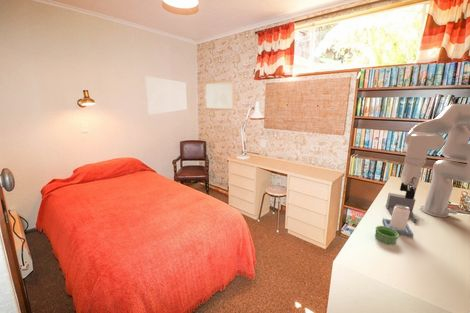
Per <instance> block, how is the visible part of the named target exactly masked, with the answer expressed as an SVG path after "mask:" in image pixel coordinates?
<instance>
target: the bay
mask: <svg viewBox="0 0 470 313" xmlns="http://www.w3.org/2000/svg"><path fill="white" fill-rule="evenodd" d="M405 195H406V194H405ZM405 195H404V194H398V193H397V194H396V193H391V192H388V195H387V200H386V204H385V207H386V210H387V211H388V212H389V213H390V215H391V216H392V214H393V210H394V207H395V206H396V204H402V205H405V206H408V207H409V208H410V209H409V210H410V214H409V218H410V220H411V221H412V223H413V224H417V222H418V218H417V217H416V215H415V214H414V212H413V211H414V210H413V209H414V207H415V204H416V199H415V198H414V199H407V198H405Z"/></svg>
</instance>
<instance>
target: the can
mask: <svg viewBox="0 0 470 313" xmlns="http://www.w3.org/2000/svg"><path fill="white" fill-rule="evenodd" d="M409 209H410V208H409V207H408V206H405V205H402V204H396V206H395V207H394V210H393V214H392V215H391V218H390V220H391V222H390V227H391V228H392V229H396V230H401V231H405V229H406V225H407V224H408V221H409V218H410V217H409V214H410V210H409Z"/></svg>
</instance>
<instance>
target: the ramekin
mask: <svg viewBox="0 0 470 313" xmlns="http://www.w3.org/2000/svg"><path fill="white" fill-rule="evenodd" d="M374 236H375V239H376V240H378V241H379V242H380V243H381V244H385V245H395V244H396V243H397V241H398V238H399V237H400V235H399V234H398V232H396V231H395V230H393V229H391V228H388V227H385V226H384V225H377V226H376V227H375V234H374Z"/></svg>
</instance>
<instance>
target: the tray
mask: <svg viewBox="0 0 470 313" xmlns="http://www.w3.org/2000/svg"><path fill="white" fill-rule="evenodd" d="M390 222H391V219H389V218H384V217H382V224H383V225H382V226H385V227H388V228H391V227H390ZM391 229H392V228H391ZM393 230H395V231H396V232H398V234H399V236H403V237H407V238H411V239H413V237H414V232H413V230H412V229H411V227H410V226H409V224H408V223H407V225H406V229H405V231H401V230H396V229H393Z"/></svg>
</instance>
